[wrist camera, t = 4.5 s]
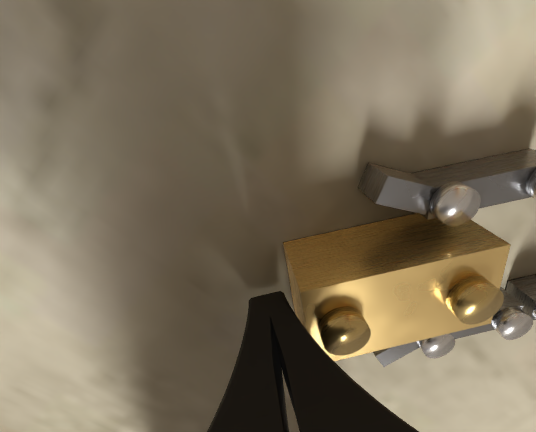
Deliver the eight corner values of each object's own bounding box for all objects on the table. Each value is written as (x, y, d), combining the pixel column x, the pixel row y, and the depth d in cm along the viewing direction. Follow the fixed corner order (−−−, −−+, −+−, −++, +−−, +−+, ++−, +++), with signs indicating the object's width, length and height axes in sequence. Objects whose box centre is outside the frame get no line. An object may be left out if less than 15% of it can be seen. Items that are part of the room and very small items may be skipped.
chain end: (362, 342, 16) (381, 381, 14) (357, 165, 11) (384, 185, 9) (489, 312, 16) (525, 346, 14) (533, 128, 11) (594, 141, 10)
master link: (294, 308, 14) (316, 381, 11) (283, 242, 12) (305, 305, 9) (440, 274, 14) (504, 335, 11) (449, 206, 12) (527, 254, 9)
